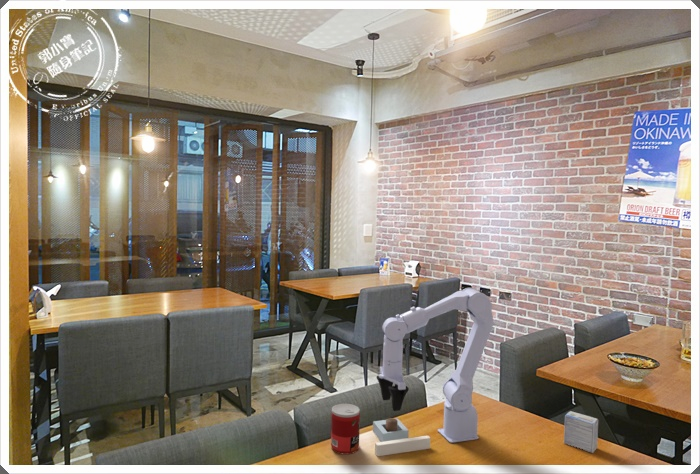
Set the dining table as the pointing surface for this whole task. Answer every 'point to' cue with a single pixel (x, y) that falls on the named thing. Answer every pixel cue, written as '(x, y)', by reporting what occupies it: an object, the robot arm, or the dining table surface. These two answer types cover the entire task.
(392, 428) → the dowel
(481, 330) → the robot arm
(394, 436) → the block
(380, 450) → the bar
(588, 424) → the medicine box
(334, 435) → the canned food
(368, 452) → the dining table surface
